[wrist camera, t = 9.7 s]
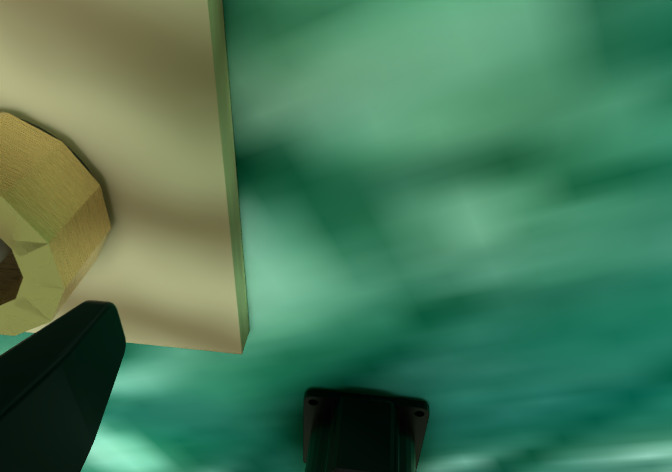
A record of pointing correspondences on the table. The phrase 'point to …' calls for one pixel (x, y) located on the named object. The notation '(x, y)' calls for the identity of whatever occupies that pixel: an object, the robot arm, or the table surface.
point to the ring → (44, 224)
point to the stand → (142, 154)
